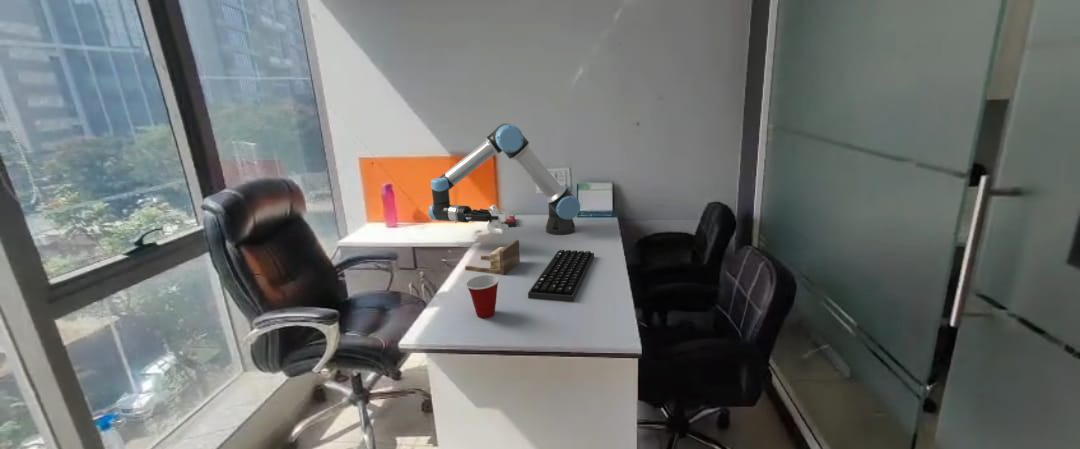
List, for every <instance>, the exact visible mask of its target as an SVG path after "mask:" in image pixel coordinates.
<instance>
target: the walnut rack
mask: <svg viewBox="0 0 1080 449" xmlns="http://www.w3.org/2000/svg"><path fill="white" fill-rule="evenodd" d="M503 247H504V248H503V249H501V250H500V251H499V257H500V270H498V269H490V267H489V268H487V267H482V266H481V267H480V266H472V265H465V267H464V270H465V271H471V272H479V273H486V274H487V273H488V274H493V275H500V276H505V275H506V274H508V273H509V272H510V271H511V270H512V269H514V268H515V267H516V266H517V265H519V264H520V262H521V259H520V258H521V257H520V240H519V239H515V240H512V241H511V242H510V243H509V244H506V246H503ZM481 260H482V261H484V260H485V261H490V260H491V258H490V255H481V256H480V261H481Z"/></svg>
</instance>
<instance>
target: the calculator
mask: <svg viewBox="0 0 1080 449" xmlns="http://www.w3.org/2000/svg"><path fill="white" fill-rule="evenodd" d="M515 217H516V216H515V214H512V213H510V219H506V221H501V224H507V225H508V228H516V218H515Z"/></svg>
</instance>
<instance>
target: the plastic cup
mask: <svg viewBox="0 0 1080 449" xmlns="http://www.w3.org/2000/svg"><path fill="white" fill-rule="evenodd" d="M499 281H500V278H499V276H498V275H496V274H480V275H476V276H474V277H471V278H470V279H468V280H467V281H466V282H465V287H466V288H467V289H468V291H469V294H470V297H471V301H472V303H473V307H474V310H475V314H476V316H477V317H478V318H480V319H488V318H492V317H493V316H494V315H495V312H496V304H497V297H498V288H499V286H498V285H499Z"/></svg>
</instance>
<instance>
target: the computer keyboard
mask: <svg viewBox="0 0 1080 449" xmlns="http://www.w3.org/2000/svg"><path fill="white" fill-rule="evenodd" d="M594 258H595V253H594V252H591V251H590V250H587V251H586V250H585V251H584V250H577V249H575V250H572V251H571V249H569V250H567V249H566V250H565V249H559V250H558V251H557V252H556V253H555V255H554V256H553V257H552V258H551V260H550V261H549V263H548V264H547V266H546V267H545V269H544V270H543V271H542V272H541V274H540V275H539V277H538V278H537V279H536V281H535V283H534V284H533V285H532V287H531V288H530V289H529V291H528V292H527V298H528V299H530V300H545V301H554V302H563V303H564V302H565V303H573V302H574V301H575V299H576V297H577V294H578V293H579V290H580V288H581V286H582V284H583V282H584V280H585V278H586V275H587V273H588V271H589V268H590V266H592V264H593V261H594Z"/></svg>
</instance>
